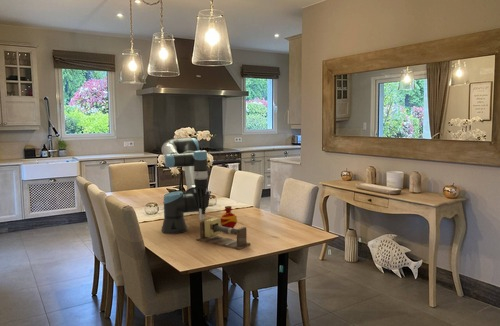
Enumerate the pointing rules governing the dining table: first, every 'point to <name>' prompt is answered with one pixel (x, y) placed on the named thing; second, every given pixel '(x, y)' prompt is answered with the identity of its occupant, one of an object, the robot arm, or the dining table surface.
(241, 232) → the pipe rig
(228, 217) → the potion bottle
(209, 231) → the collar
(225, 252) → the dining table surface
